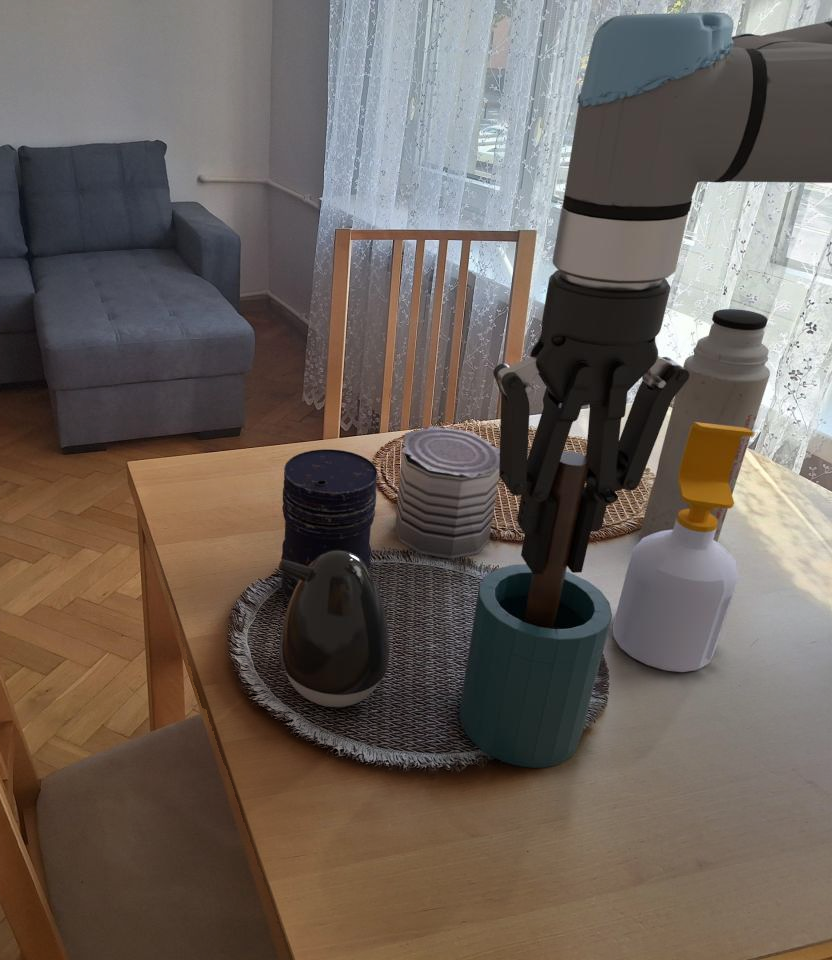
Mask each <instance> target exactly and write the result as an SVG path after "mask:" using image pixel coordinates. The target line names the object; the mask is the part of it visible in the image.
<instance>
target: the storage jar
mask: <svg viewBox="0 0 832 960" xmlns="http://www.w3.org/2000/svg"><path fill="white" fill-rule="evenodd" d="M377 482H378V469H377V467H376V465H375V464H374V463H373V462H372V461H371V460H370V459H368V458H367V457H365V456H363V455H360V454H358V453H354V452H351V451H346V450H340V449H331V448H330V449H329V448H328V449H325V448H324V449H314V450H308V451H303V452H301V453H298V454H297V455H296V454H295V455H294V456H292V457H291V458H289V460H288V461H286V463H285V464H284V468H283V488H282V507H281V508H282V509H281V510H282V517H283V519H284V539H283V542H282V549H281V553H282V554H281V557H280V558H281V559H280V561H281V560H282V559H285V560H288V561H292V562H295V563H299V564H302V565H306V566H309V565H310V564H311V563H312V562H313V561H314V560H315V559H316V558H317V557H318V556H319V555H320V554H322V553H324V552H326V551H329V550H335V549H340V550H346V551H349V552H352V553H354V554H355V555H357V556H358V557H359V558H361V559H362V561H363V562H364V563H365V564H366V566H367V567H368V569H369V570H370V571H372V569H371V568H372V561H371V557H372V546H371V543H370V542H371V530H372V529H371V528H372V524H373V523H374V520H375V516H376V506H377V496H378V495H377ZM281 577H282V578H281V590H282V593H283V595H284V597H285V598H286V599H287V600H288V601H289V602H290V599H291V597H292V594H293V592H294V590H295V588H296V586H297V584H298V582H299V580H300V579H298V578H295V577H293V576H291V575H289V574H287V573H285V572H282V571H281Z"/></svg>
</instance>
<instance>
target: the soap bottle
mask: <svg viewBox="0 0 832 960" xmlns="http://www.w3.org/2000/svg"><path fill="white" fill-rule="evenodd" d="M754 435H755V431H753V430H752V431H751V430H749V429H748V428H744V427H735V426H726V425H717V424H708V423H699V422H694V423H693V424H692V426H691V429H690V432H689V435H688V439H687V443H686V446H685V450H684V454H683V457H682V461H681V465H680V469H679V475H678V483H679V488H680V493H681V498H682V500H683V501H685V502H687V503H688V504H689V505H691V507H690V509H684V510H681V511H680V512H679V513H678V517H677V518H676V522H675V525H674V529H673V530H666V531H660V532H657V533H653V534H651V535H649V536H646V537H644V538H643V539H642V540H641V539H640V540H639V542H638V543H637V544H636V546H635V547H634V548H633V550H632V551H631V553H630V557H629V561H628V565H627V569H626V573H625V577H624V580H623V586H622V589H621V592H620V597H619V600H618V604H617V607H616V612H615V616H614V620H613V624H612V636H613V639H614V640H615V641H616V643H617V645H618V646H619V648H620V649H621V650H623V651H624V652H625V653H626V654H627V655H628V656H630V657H631V658H632V659H635V660H636V661H639V662H640V663H643V664H644V665H646V666H649V667H653V668H656V669H658V670H662V671H668V672H678V673H685V672H686V673H687V672H692V671H693V672H694V671H698V670H700V669H702V668H703V667H705V666H707V665H709V664H710V662H711V661H712V659H713V657H714V655H715V652H716V649H717V646H718V643H719V640H720V637H721V634H722V631H723V628H724V625H725V622H726V619H727V616H728V613H729V610H730V607H731V604H732V601H733V598H734V595H735V593H736V589H737V586H738V584H739V580H740V573H739V568H738V564H737V560H736V558H735V557H734V556H733V555H732V554H731V553H730V552H729V551H728V550H727V549H726V548H725V546H723V545H722V544H721V543H719V542H718V541H717V542H716V541H715V540H713V538H714V535H715V532H716V529H717V524H718V520H717V518H716V517H715V516H713V515H712V514H710V512H711V510H716V509H718V508H725V509H732V508H733V507H734V505H735V501H734V497H733V494H731V491H730V487H729V477H730V472H731V469H732V466H733V462H734V459H735V456H736V453H737V449H738V446H739V443H740V440H741V437H742V436H751V437H750V438H752V437H754Z"/></svg>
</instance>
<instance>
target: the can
mask: <svg viewBox="0 0 832 960" xmlns="http://www.w3.org/2000/svg"><path fill="white" fill-rule="evenodd" d="M499 463H500V447H498V446H496V445H495V444H493V443H492V442H490V441H488V440H486V439H485V438H484V437H481V436H480V435H479V434H476V433H475V432H473V431H469V430H462V429H457V428H450V427H444V426H438V425H431V426H427V427H425V428H420V429H417V430H412V431H408V432H405V433H404V437H403V443H402V449H401V458H400V468H399V469H400V470H399V482H398V491H397V499H396V501H397V502H396V511H395V521H394V526H395V531H396V535H397V538H398V541H399V542H400V543H401V544H403V545H405V546H407V547H408V548H410V549H412V550H414V551H415V552H417V553H418V554H420V555H422V556H423V555H424V556H429V557H436V558H441V559H447V560H454V559H458V558H460V559H461V558H464V557H470V556H474V555H478V554H479V553H480V552H481V551H482V550H483V548H485V546H486V545H487V544H488V543H489V542H490V537H491V531H492V525H493V519H494V512H495V506H496V500H497V495H498V488H499V487H498V486H499V480H500V476H499Z"/></svg>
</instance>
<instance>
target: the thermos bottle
mask: <svg viewBox="0 0 832 960" xmlns="http://www.w3.org/2000/svg"><path fill="white" fill-rule="evenodd" d="M711 321H712V322H713V323H712V324H711V326H710V329H709V332H708V335H706V336H703V337H701V338H699V339H698V340H697V342H696V345H695V347H694V348H693V349H692V351H693V354H692V355H690V356H688V357H687V358H685V359H684V362H683V365H682V367H683V368H685V369H686V370H687V371H688V372H689V378H688V380H687V381H686V383H685V384H684V385H683V386H682V388H681V389H680V390H679V392H678V393H677V394H676V395H675V397H674V400H673V401H674V402H673V404H672V408H671V411H670V416H669V420H668V423H667V427H666V431H665V435H664V439H663V441H662V442H663V443H662V446H661V450H660V455H659V457H658V464H657V468H656V473H655V476H654V480H653V483H652V487H651V489H650V493H649V497H648V500H647V504H646V508H645V511H644V515H643V519H642V523H641V527H640V531H639V538H640V541H641V540H642V539H643V538H644V537H646V536H649V535H651V534H653V533H657V532H660V531H666V530H673V529H674V525H675V522H676V518H677V517H678V513H679V512H680V511H681V510H684V509H690V507H691V505H689V504H688V503H687V502H685V501H683V500H682V498H681V493H680V488H679V483H678V475H679V469H680V465H681V461H682V457H683V454H684V450H685V446H686V443H687V439H688V435H689V432H690V429H691V426H692V424H693V423H694V422H699V423H708V424H717V425H726V426H735V427H744V428H748V429H749V430H751V431H753V430H754V427H755V425H756V422H757V421H756V420H757V417H758V414H759V410H760V408H761V405H762V401H763V399H764V396H765V392H766V389H767V385H768V382H769V379H770V376H771V370H770V369H769V368H768V367H767V366H766V363H767V362H768V361H769V357H768V356H769V349H768V346H766V345H764V343H763V339H764V336H765V327H766V326H767V324H768V321H769V319H768V318H767V316H765V315H764V314H761V313H758V312H755V311H751V310H747V309H746V310H745V309H737V308H723V309H718V310H715V311H714V312H713V314H712V317H711ZM751 438H752V437H751V436H742V437H741V440H740V443H739V446H738V449H737V453H736V456H735V459H734V462H733V466H732V469H731V472H730V477H729V487H730V491H731V494H732V495H733V494H734V490H735V487H736V484H737V481H738V478H739V474H740V471H741V468H742V465H743V462H744V459H745V456H746V452H747V449H748V447H749V442H750V440H751ZM728 509H729V508H728ZM728 509H725V508H718V509H716V510H711V512H710V514H712V515H713V516H715V517H716V518H717V520H718V524H717V529H716V532H715V535H714V538H713V540H715V541H716V542H718V541H719V538H720V536H721V535H720V534H721V531H722V529H723V525H724V523H725V519H726V516H727V513H728Z"/></svg>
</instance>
